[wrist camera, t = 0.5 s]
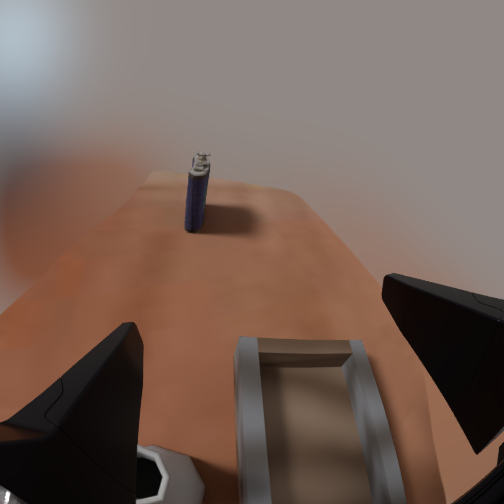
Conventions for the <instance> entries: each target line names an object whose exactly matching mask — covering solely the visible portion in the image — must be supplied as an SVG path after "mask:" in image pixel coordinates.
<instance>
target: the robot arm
mask: <svg viewBox="0 0 504 504" xmlns="http://www.w3.org/2000/svg"><path fill="white" fill-rule="evenodd" d="M382 300H383V302H384V304H385V305H386V307H387V309H388V310H389V312H390V314H391V316H392V317H393V319H394V321H395V323H396V325H397V326H398V328H399V330H400V331H401V333H402V334H403V336H404V337H405V338H406V340H407V341H408V343H409V344H410V346H411V347H412V349H413V350H414V352H415V353H416V355H417V356H418V358H419V359H420V361H421V362H422V364H423V365H424V367H425V368H426V370H427V371H428V373H429V374H430V376H431V377H432V379H433V381H434V382H435V384H436V385H437V387H438V388H439V390H440V392H441V393H442V395H443V397H444V398H445V400H446V402H447V403H448V405H449V407H450V408H451V410H452V412H453V413H454V416H455V417H456V419H457V421H458V422H459V424H460V426H461V428H462V430H463V431H464V433H465V435H466V437H467V439H468V440H469V443H470V445H471V446H472V448H473V450H474V452H475V453H476V454H479V453H480V452H481V451H482V450H483V449H484V448H486V447H487V446H488V445H489V444H490V443H491V442H492V441H493V440H494V439H496V438H497V437H498V436H499V435H500V434H501V433H502V432H503V431H504V300H502V299H498V298H493V297H488V296H484V295H480V294H476V293H473V292H468V291H464V290H460V289H457V288H452V287H448V286H444V285H441V284H437V283H433V282H429V281H425V280H421V279H416V278H412V277H408V276H404V275H400V274H396V273H392V274H388V275H386V276H385V277H384V280H383V287H382ZM143 350H144V346H143V341H142V338H141V336H140V333H139V331H138V328H137V326H136V324H135V323H134V322H127V323H122V324H121V325H120V326H119V327H118V328H117V329H115V330H114V331H113V332H112V333H111V334H109V335H108V336H107V337H106V338H105V339H104V340H102V341H101V342H100V343H99V344H98V345H97V346H95V347H94V348H93V349H92V350H91V351H90V352H88V353H87V354H86V355H85V356H84V357H83V358H82V359H80V360H79V361H78V362H77V363H76V364H75V365H74V366H72V367H71V368H70V369H69V370H68V371H67V372H66V373H65V374H63V375H62V376H61V378H59V379H58V380H57V381H55V382H54V383H53V384H52V385H51V386H50V387H49V388H47V389H46V390H45V391H44V392H43V393H41V394H40V395H39V396H38V397H36V398H35V399H34V400H33V401H31V402H30V403H29V404H27V405H26V406H25V407H24V408H22V409H21V410H20V411H18V412H17V413H16V414H14V415H13V416H12V417H11V418H9V419H8V420H6V421H3V422H0V504H136V466H137V445H138V431H139V418H140V408H141V398H142V389H143ZM452 504H504V442H503V443H502V445H501V446H500V447H499V454H498V461H497V466H496V467H495V468H494V469H493V470H492V471H491V472H490V473H489V474H488V475H486V476H485V477H484V478H483V479H482V480H481V481H480V482H478V483H477V484H476V485H475V486H474V487H472V488H471V489H470V490H469V491H467V492H466V493H465V494H464V495H462V496H461V497H460V498H458V499H457V500H456V501H454V502H453V503H452Z"/></svg>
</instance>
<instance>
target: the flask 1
mask: <svg viewBox="0 0 504 504" xmlns="http://www.w3.org/2000/svg"><path fill="white" fill-rule="evenodd" d="M205 488H206V486H205V484H204V483H203V481H202V479H201V477H200V475H199V473H198V472H197V470H196V468H195V466H194V464H193V462H192V460H191V458H190V456H188V455H184V454H181V453H177V452H174V451H171V450H168V449H164V448H161V447H158V446H155V445H150V446H146V447H143V446H140V445H137V466H136V504H202V501H203V497H204V493H205Z"/></svg>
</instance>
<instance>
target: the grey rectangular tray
mask: <svg viewBox="0 0 504 504" xmlns="http://www.w3.org/2000/svg"><path fill="white" fill-rule="evenodd" d="M233 364H234V401H235V429H236V453H237V475H238V493H239V504H407V501H406V496H405V491H404V486H403V481H402V477H401V472H400V468H399V463H398V459H397V455H396V451H395V447H394V443H393V439H392V435H391V432H390V428H389V424H388V421H387V417H386V414H385V410H384V407H383V404H382V400H381V397H380V394H379V391H378V387H377V384H376V381H375V378H374V375H373V372H372V369H371V366H370V363H369V360H368V357H367V354H366V351H365V348H364V345H363V343H362V340H296V339H273V338H256V337H243V336H240V337H239V340H238V343H237V347H236V350H235V353H234V357H233Z"/></svg>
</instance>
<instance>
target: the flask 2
mask: <svg viewBox="0 0 504 504" xmlns="http://www.w3.org/2000/svg"><path fill="white" fill-rule="evenodd" d="M196 154H198V155H195V156H194V157H193V165H192V169H190V171H189V176H188V188H187V198H186V213H185V227H184V229H185V230H186V231H187V233H193V234H194V233H198V232H199V231H200V230H201V228H202V225H203V223H204V209H205V202H206V194H207V186H208V179H209V173H210V162H209V159H208V158H207V156H210V154H208V153H207V154H206V153H200V152H198V153H196Z"/></svg>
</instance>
